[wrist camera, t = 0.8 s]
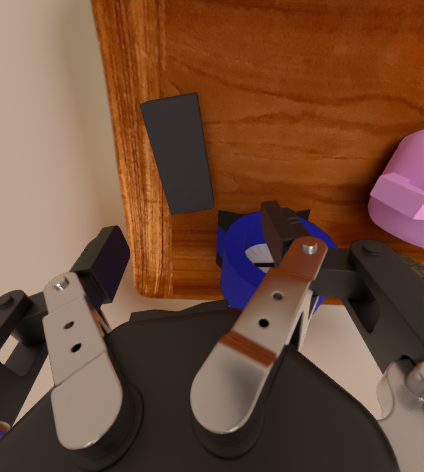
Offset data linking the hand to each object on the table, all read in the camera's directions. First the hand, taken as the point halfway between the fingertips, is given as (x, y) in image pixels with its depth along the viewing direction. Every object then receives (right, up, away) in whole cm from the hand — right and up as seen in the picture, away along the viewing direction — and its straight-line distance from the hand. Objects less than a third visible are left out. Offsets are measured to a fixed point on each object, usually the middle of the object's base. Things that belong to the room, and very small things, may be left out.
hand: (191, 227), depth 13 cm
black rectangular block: (-2, +9, +12) cm, 15 cm away
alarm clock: (+8, -1, +20) cm, 22 cm away
